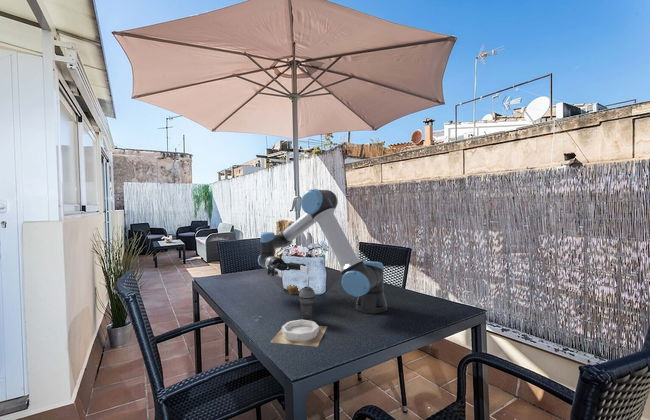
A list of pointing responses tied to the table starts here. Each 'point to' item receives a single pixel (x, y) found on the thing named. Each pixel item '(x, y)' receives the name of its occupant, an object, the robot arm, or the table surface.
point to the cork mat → (313, 342)
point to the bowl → (300, 330)
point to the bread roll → (292, 289)
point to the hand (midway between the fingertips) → (295, 272)
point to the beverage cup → (307, 302)
